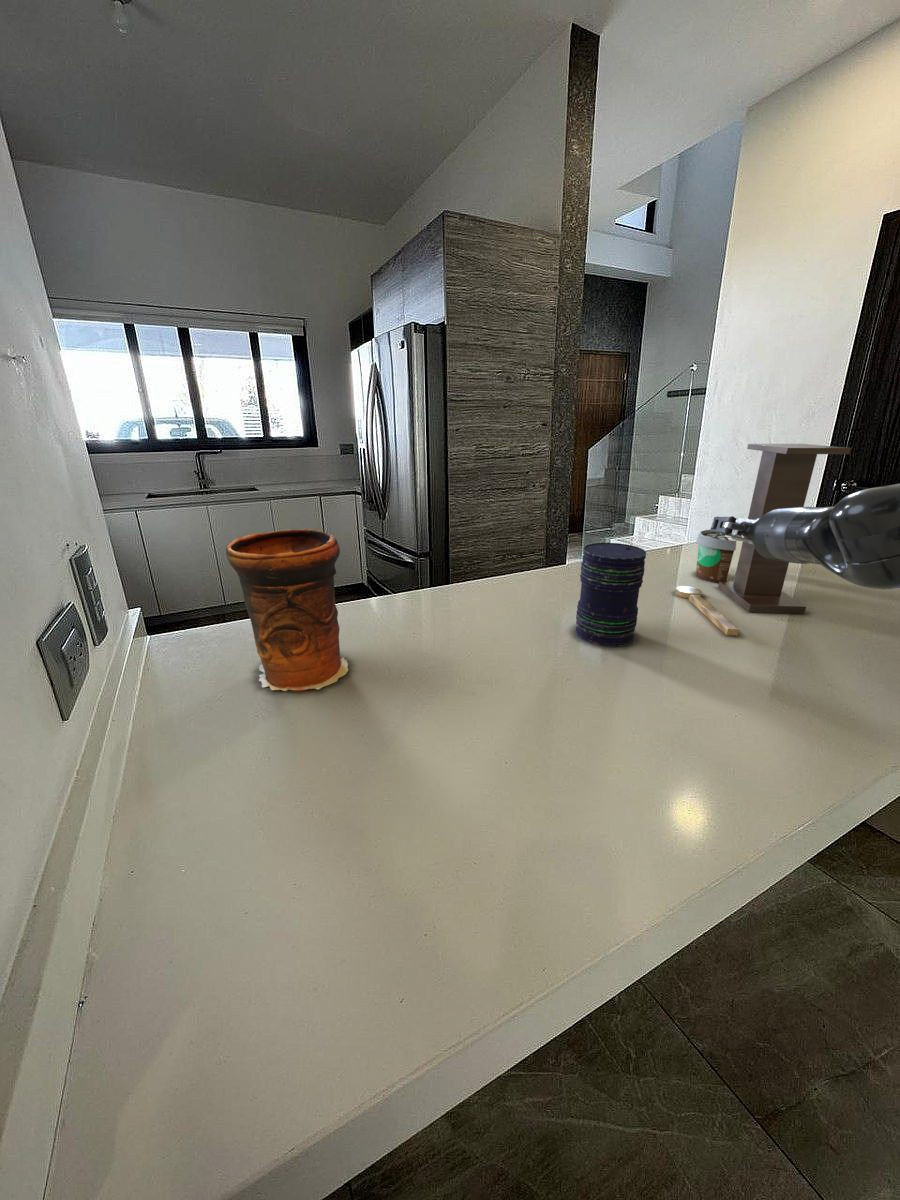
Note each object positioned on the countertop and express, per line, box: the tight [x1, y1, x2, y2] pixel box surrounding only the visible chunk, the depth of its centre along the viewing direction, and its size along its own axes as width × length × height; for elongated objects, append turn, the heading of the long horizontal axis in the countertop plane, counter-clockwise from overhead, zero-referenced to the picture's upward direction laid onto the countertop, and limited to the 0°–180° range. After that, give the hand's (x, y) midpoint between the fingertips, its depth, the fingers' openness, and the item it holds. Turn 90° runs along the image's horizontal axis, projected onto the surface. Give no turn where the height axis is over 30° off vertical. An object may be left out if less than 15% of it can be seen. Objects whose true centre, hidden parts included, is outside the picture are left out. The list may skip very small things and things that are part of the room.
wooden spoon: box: [675, 585, 739, 637], centre depth 92 cm, size 22×5×1 cm, turn 175°
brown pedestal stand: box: [717, 443, 852, 615], centre depth 92 cm, size 14×10×30 cm
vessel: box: [225, 528, 349, 692], centre depth 67 cm, size 14×14×20 cm
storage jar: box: [574, 542, 647, 648], centre depth 80 cm, size 10×10×15 cm
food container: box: [695, 529, 737, 584], centre depth 110 cm, size 12×6×10 cm, turn 168°
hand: (744, 533), depth 81 cm, fingers open, 8 cm apart
